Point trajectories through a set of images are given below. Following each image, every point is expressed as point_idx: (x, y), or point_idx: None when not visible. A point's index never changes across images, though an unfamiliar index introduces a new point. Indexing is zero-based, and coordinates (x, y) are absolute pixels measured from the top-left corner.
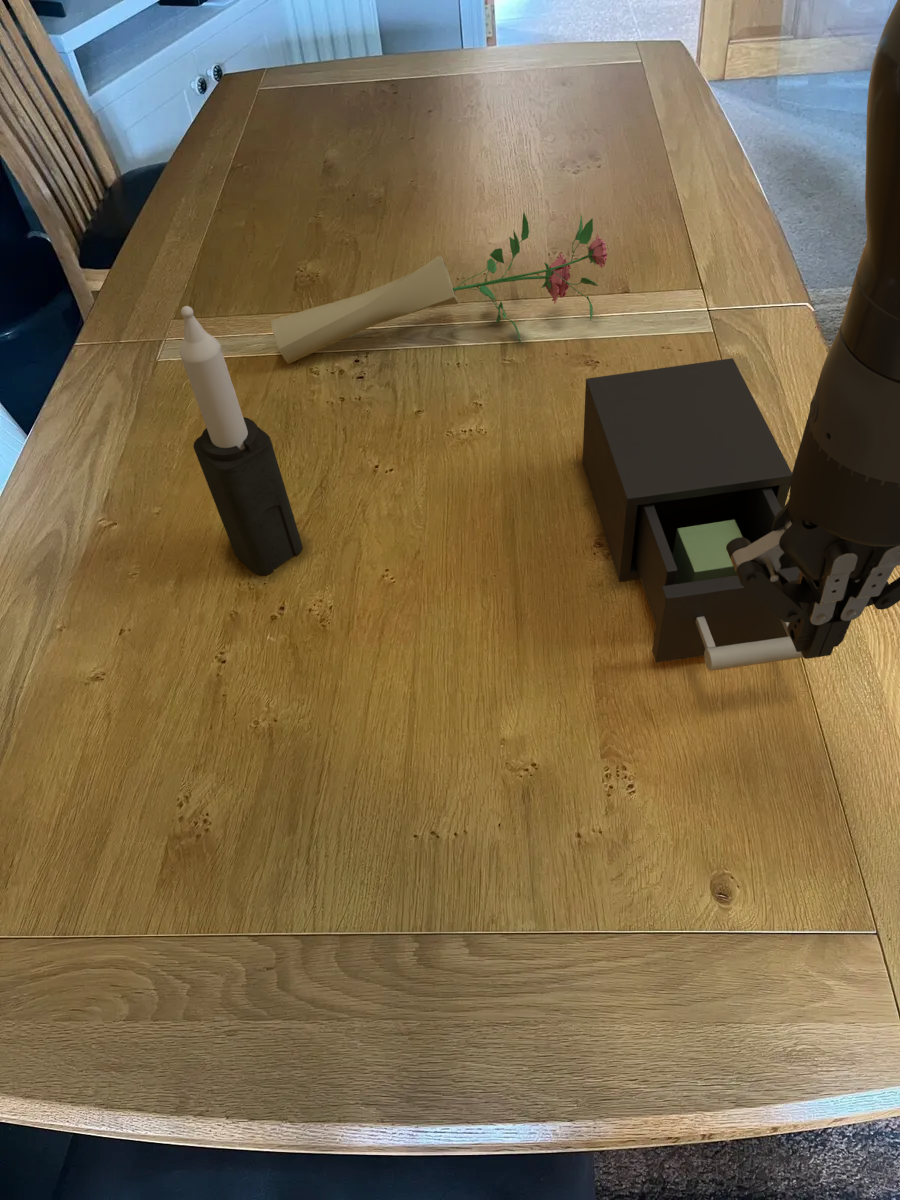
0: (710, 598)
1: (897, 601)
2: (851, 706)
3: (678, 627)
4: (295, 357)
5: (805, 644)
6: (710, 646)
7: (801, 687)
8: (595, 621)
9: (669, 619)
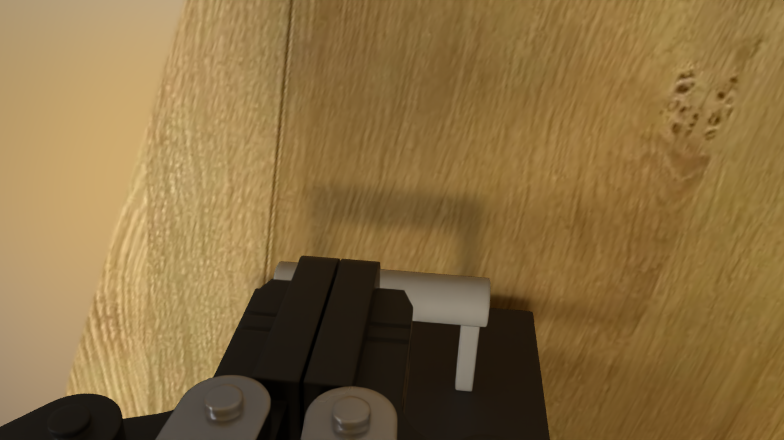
0: (449, 431)
1: (23, 419)
2: (211, 153)
3: (505, 376)
4: None
5: (379, 309)
6: (472, 328)
7: (286, 208)
8: (590, 403)
9: (529, 400)
